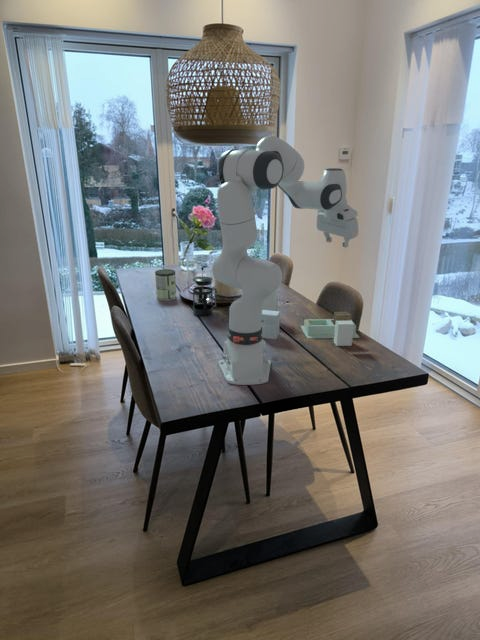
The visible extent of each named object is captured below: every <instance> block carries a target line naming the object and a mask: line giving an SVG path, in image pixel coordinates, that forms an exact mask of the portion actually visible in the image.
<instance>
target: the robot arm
mask: <svg viewBox="0 0 480 640" xmlns="http://www.w3.org/2000/svg"><path fill="white" fill-rule="evenodd" d="M217 166H218V169H217V170H218V178H219V182H220V183H221V184H220V186H218V187H219V188H218V189H217V196H216V197H217V202H216V203H217V204H216V205H217V213H218V220H219V225H220V231H221V239H222V249H221V252H220V254H219V255H218V256H217V257H216V258H215V259H214V261H213V263H212V267H211V269H212V270H211V272H212V276H213V278H214V280H215V281H217V282H219V283H221V284H222V285H225V286H227V287H231V288H236V289H239V290H241V297H240V298H238V299H236V300H234V301H233V302H232V303H231V305H230V306H229V310H228V311H229V315H228V316H229V317H228V318H229V319H228V321H229V322H228V323H229V324H228V327H227V339H226V340H225V341H224V342H223V356H222V359H221V360H219V361H218V362H217V365H218V367H219V369H220V372H221V374H222V375H223V377H224V380H225V381H226V383H228V384H231V385H239V386H241V385H242V386H255V385H261V384H262V385H263V384H266V383H268V382H269V379H270V378H269V377H270V372H271V371H270V370H271V365H272V364H271V363H272V362H271V360H270V359H269V356H268V355H266V353H268V348H266V341H265V340H264V338H262V334H263V331H262V327H261V319H262V309H263V305H264V302H265V300H266V299H267V297H268V296H269V295H270V294H272V293H273V292H275V291H276V292H277V290H278V289H279V288H280V287H281V284H282V283H283V281H282V280H283V272H282V269H281V267H280V265H279V264H277V263H274V262H273V261H270V260H267V259H263V258H258V257H253V256H250V255H249V254H248V250H249V248H251V247H253V246H254V245H255V244H256V242H257V240H258V237H259V236H258V234H259V233H258V229H257V222H256V215H255V209H254V204H253V199H252V196H253V190H254V189H256V190H259V189H260V190H265V191H266V190H272V189H274V188H276V187H278V188H279V189H280V190H281V191H282V192H283V193H284V194H285V195H286V196H287V198H288V200H289V201H290V203H291V205H292V206H293V207H294V208H295V209H297V210H298V209H300V210H301V209H307V210H316V211H317V216H316V229H317V230H318V231H321V232H323V236H324V237H325V240H326V243H332V242H333V237H331V235H335V236H338V237H342V238H343V240H344V242H342V248H345V249H346V248H348V247H349V243H350V241H351V240H352V239H356V238H358V235H359V222H358V221H359V220H358V219H357V216H358V211H357V210H356V209H354V208H353V207H351V206H350V205H349V204H348V199H347V191H348V189H347V188H348V185H347V177H346V176H347V175H346V172H345V170H344V169H342V168H339V167H338V168H337V167H335V168H333V167H332V168H331V167H330V168H325V169H324V170H323V175H322V178H321V179H320V181H318V182H314V181H313V182H312V181H303V180H300V179H301V178H302V176H303V174H304V171H305V161H304V159H303V156H302V155H301V154H300V153H299V152H298V151H297V150H296V149H295V148H294V147H293V146H292V145H290V144H289V143H288V142H286V141H284V140H283V139H282V138H280V137H278V136H275V135H266V136H264V137H262V138H261V139H260V140H259V141H258V142H257V144H256V147H255V149H252V148H241V149H239V148H231V149H228V150H227V151H224V152H223V153H222V154H221V155H220V158H219V160H218V164H217ZM330 234H331V235H330Z"/></svg>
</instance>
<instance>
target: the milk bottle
mask: <svg viewBox="0 0 480 640" xmlns="http://www.w3.org/2000/svg"><path fill="white" fill-rule="evenodd" d="M262 310H270V311H278V294H277V290H276V291H275V292H273V293H272V294H270V295H269V296H268V297H267V299H266V300H265V302H264V305H263V309H262Z"/></svg>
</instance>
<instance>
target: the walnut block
mask: <svg viewBox="0 0 480 640" xmlns="http://www.w3.org/2000/svg"><path fill="white" fill-rule="evenodd" d="M333 319H334V320H333V324H334V325H335V323H336V321H350V320H352V314H351V312H349V311H334V312H333Z"/></svg>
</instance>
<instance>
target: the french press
mask: <svg viewBox="0 0 480 640" xmlns="http://www.w3.org/2000/svg"><path fill="white" fill-rule="evenodd" d="M207 267H208V266H207V265H204V264H203V265H198V266H197V268H198V269H199V268H200V269H201V274H202V275H201V276H196V277H193V278H192V281H193V282H195V284H196V285H197V286H196V287H194V288H192V295H193V297H192V299H193V302H192V303H193V312H192V313H193V316H195V317H200V318H205V317H211V316H212V315H214V310H213V309H214V308H217V302H218V301H217V294H218V293H217V288H216V287H215V288H214V287H210V285H212V281H213V277H210V276H204V269H205V268H207ZM204 290H206V291H204ZM213 291H214V296H213ZM195 295H198V298H195ZM208 295H211V296H210V297H211V298H208ZM213 297H214V305H213Z"/></svg>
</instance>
